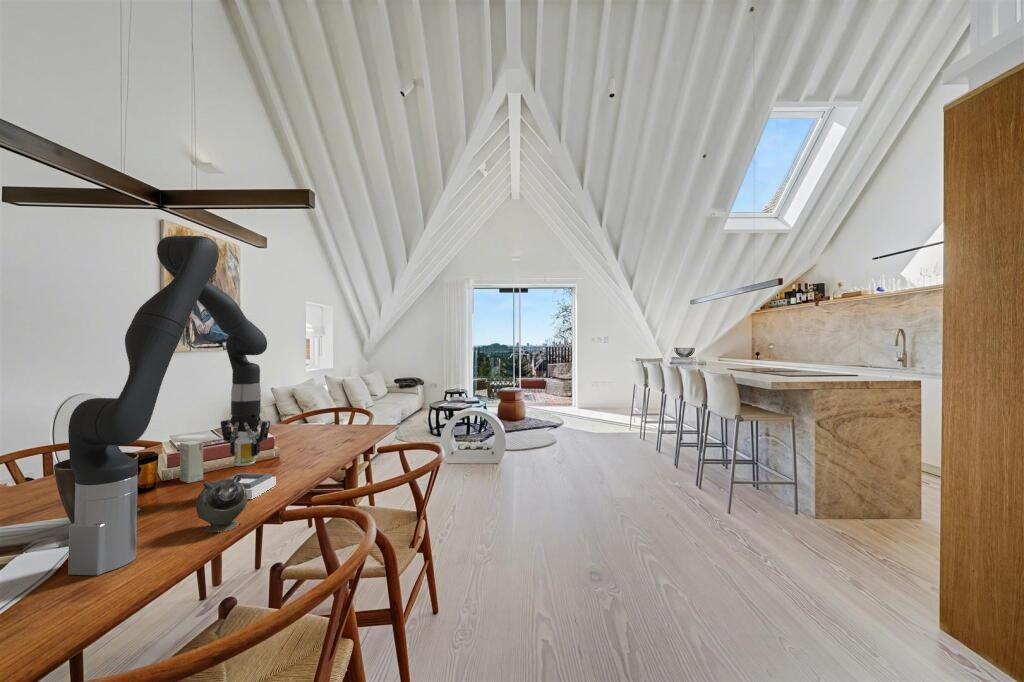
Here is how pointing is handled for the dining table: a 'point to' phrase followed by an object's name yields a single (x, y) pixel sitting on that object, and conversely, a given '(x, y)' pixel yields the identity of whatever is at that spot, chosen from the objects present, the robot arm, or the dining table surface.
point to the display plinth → (256, 483)
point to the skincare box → (191, 461)
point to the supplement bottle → (243, 450)
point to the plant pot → (71, 484)
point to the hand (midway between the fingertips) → (245, 455)
